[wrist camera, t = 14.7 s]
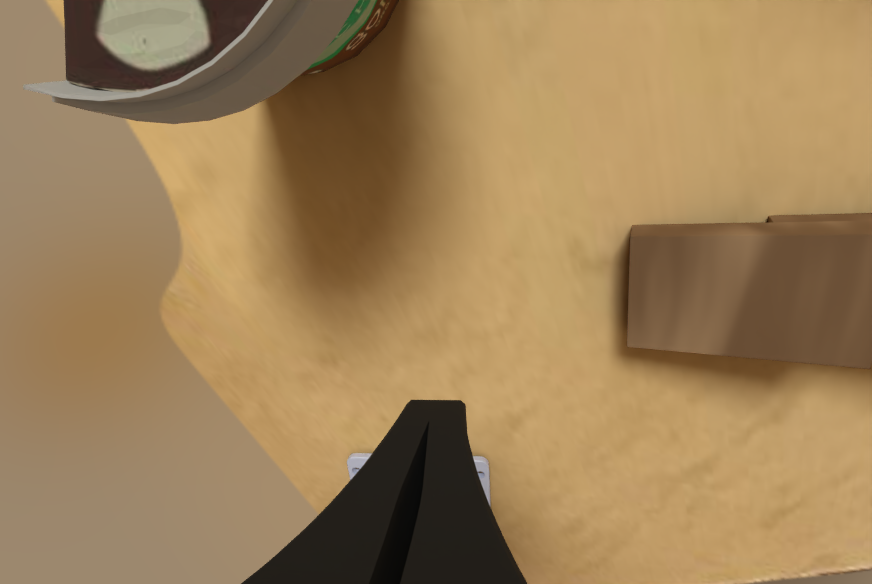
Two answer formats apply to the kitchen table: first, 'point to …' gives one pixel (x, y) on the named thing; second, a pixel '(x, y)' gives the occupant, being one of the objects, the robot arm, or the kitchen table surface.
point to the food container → (202, 52)
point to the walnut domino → (754, 290)
